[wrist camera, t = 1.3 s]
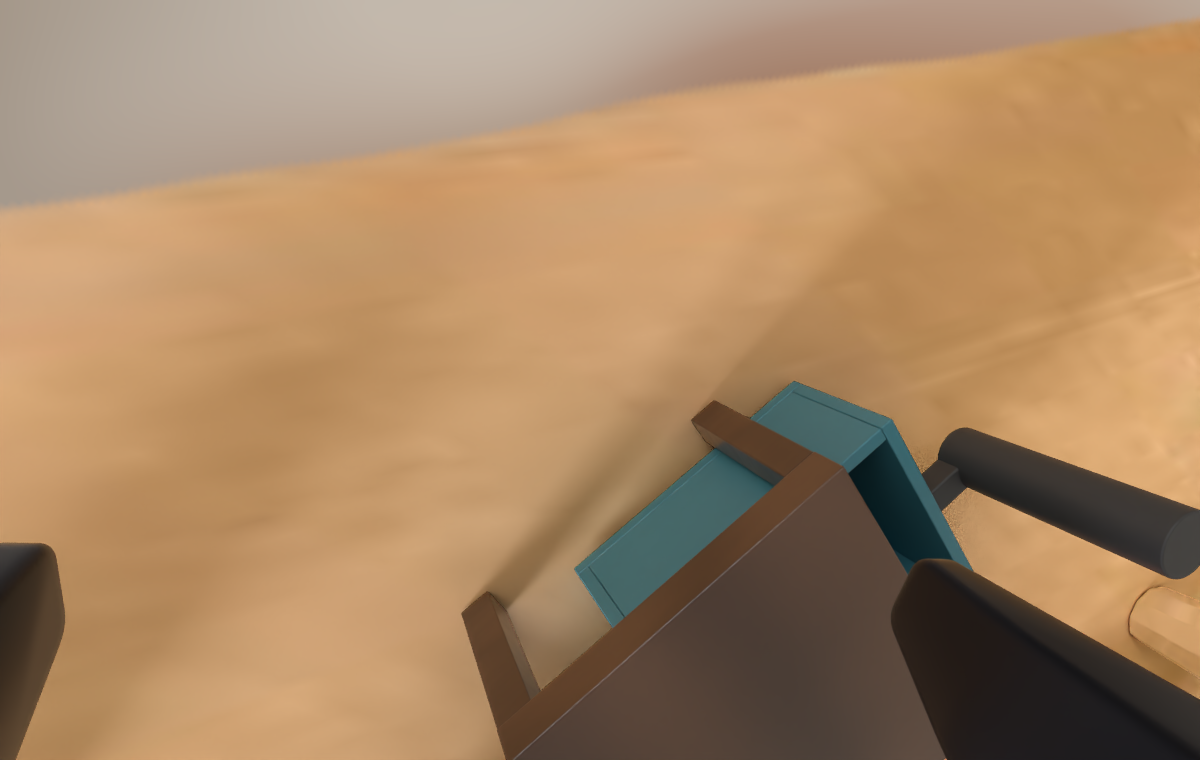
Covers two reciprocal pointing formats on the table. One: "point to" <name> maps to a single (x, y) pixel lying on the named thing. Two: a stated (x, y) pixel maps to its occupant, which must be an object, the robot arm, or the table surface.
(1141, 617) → the milkshake
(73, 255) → the table surface
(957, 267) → the table surface
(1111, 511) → the drawer
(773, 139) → the table surface
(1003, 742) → the robot arm
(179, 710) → the table surface
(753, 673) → the brown drawer cabinet
